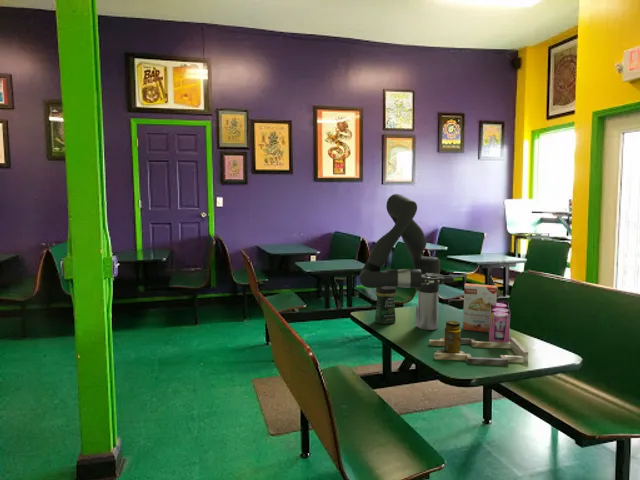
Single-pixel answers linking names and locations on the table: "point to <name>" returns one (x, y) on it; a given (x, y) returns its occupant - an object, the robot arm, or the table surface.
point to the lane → (503, 360)
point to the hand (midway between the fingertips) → (452, 279)
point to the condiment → (452, 338)
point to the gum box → (499, 322)
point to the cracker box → (478, 306)
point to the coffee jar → (385, 305)
